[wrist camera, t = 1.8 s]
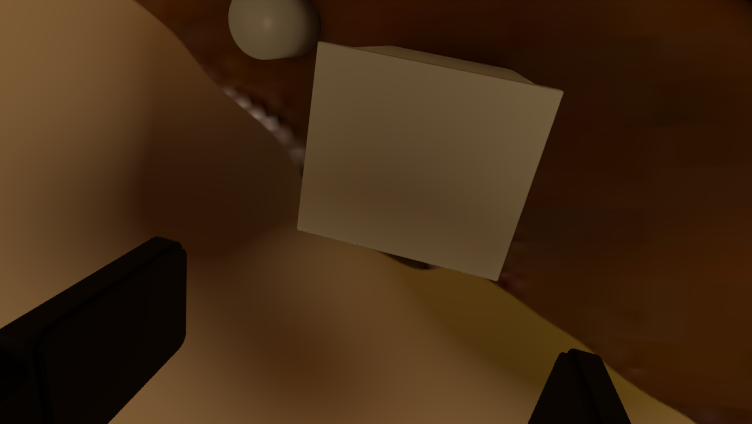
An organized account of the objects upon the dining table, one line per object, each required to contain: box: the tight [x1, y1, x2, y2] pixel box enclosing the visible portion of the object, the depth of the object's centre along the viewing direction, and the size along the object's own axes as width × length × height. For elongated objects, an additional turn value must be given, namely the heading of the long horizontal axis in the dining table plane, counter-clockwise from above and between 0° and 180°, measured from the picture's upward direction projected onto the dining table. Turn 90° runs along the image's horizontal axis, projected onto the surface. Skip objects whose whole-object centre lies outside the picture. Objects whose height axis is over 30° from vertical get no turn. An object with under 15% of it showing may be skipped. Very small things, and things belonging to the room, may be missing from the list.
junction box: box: [297, 42, 563, 281], centre depth 22 cm, size 8×8×15 cm
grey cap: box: [228, 0, 321, 60], centre depth 26 cm, size 4×4×5 cm
